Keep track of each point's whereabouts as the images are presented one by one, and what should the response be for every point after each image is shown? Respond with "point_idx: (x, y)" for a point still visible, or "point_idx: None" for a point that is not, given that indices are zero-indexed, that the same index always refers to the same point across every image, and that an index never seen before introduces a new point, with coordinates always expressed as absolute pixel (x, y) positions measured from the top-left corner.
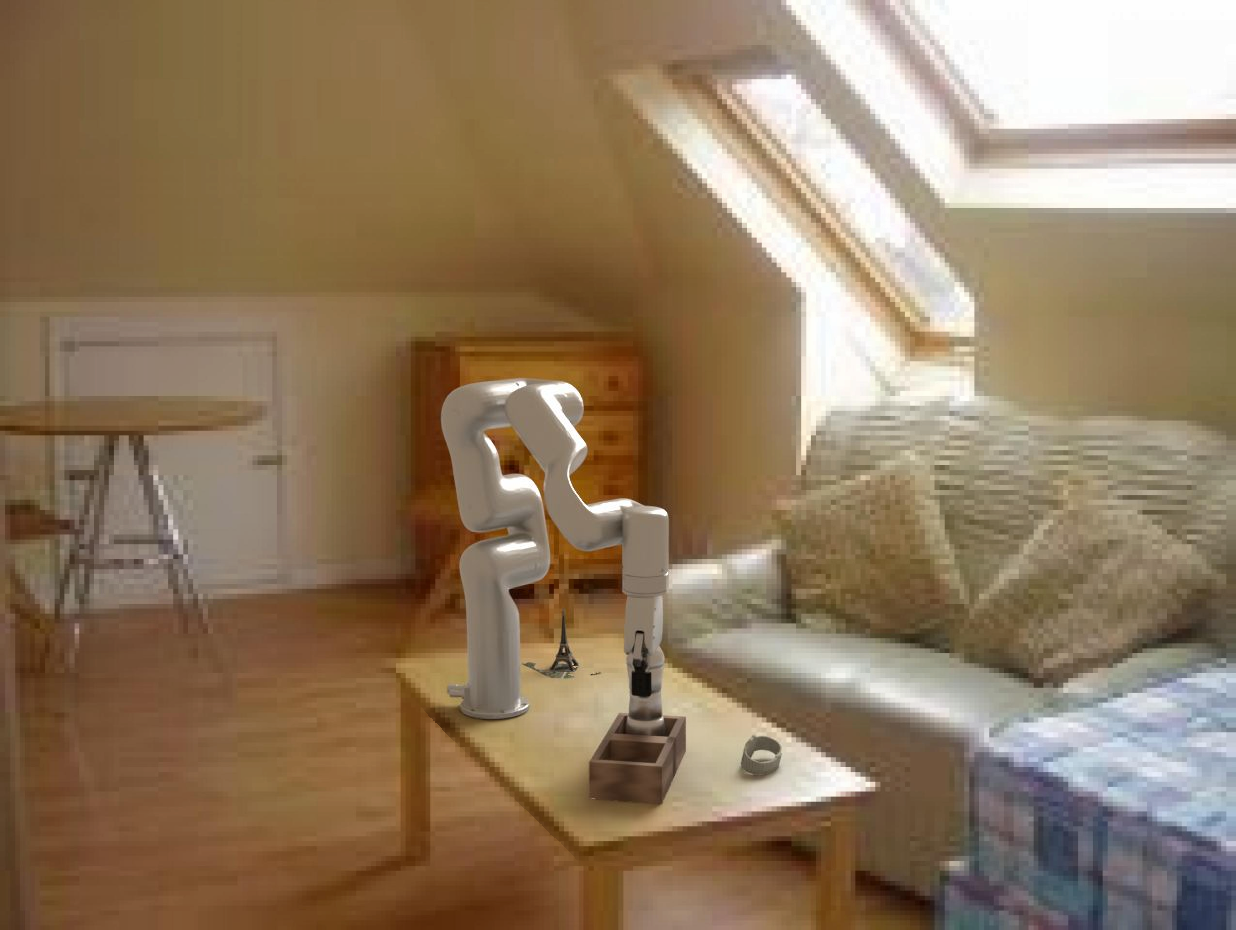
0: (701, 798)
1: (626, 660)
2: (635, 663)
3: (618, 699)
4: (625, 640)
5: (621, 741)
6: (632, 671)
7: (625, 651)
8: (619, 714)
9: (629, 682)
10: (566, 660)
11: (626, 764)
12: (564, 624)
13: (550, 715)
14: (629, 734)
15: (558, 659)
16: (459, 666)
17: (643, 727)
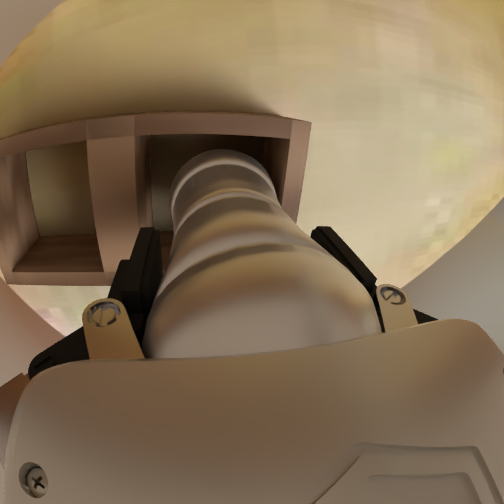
0: (73, 293)
1: (226, 267)
2: (17, 383)
3: (469, 123)
4: (3, 488)
5: (89, 170)
6: (86, 310)
7: (22, 393)
8: (298, 124)
9: (208, 216)
10: None
11: None
12: None
13: (418, 13)
14: (134, 179)
15: None
16: None
17: (170, 211)
